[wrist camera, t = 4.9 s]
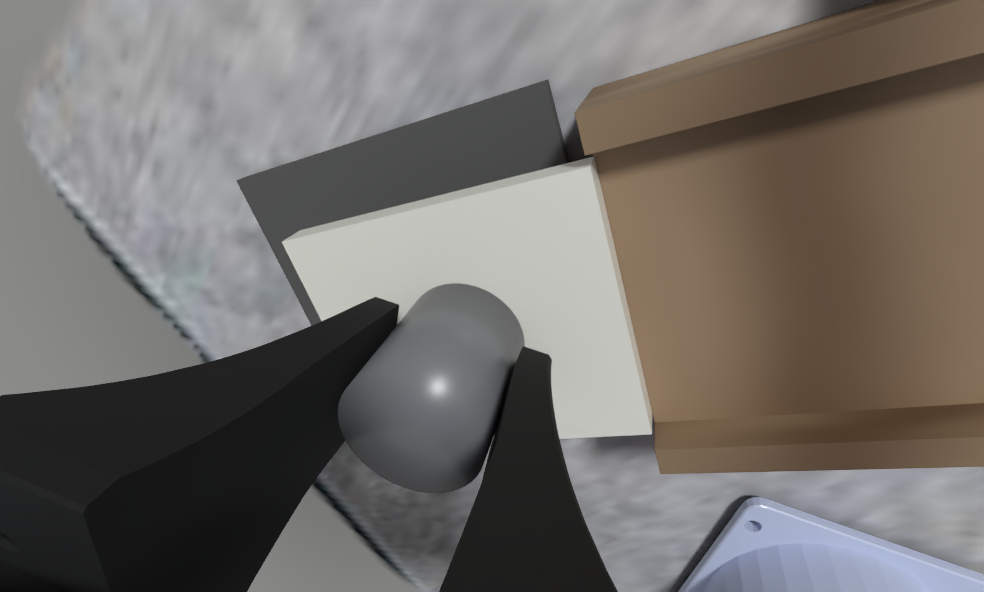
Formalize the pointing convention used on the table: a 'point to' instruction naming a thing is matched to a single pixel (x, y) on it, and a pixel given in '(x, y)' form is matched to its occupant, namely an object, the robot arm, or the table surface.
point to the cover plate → (514, 260)
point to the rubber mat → (406, 168)
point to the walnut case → (807, 241)
